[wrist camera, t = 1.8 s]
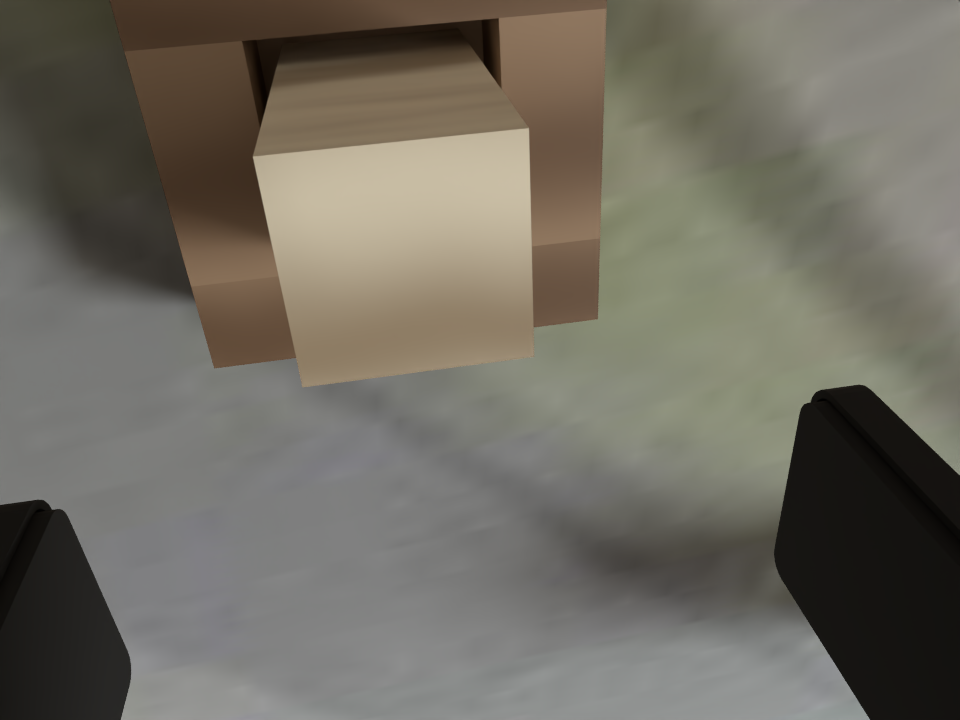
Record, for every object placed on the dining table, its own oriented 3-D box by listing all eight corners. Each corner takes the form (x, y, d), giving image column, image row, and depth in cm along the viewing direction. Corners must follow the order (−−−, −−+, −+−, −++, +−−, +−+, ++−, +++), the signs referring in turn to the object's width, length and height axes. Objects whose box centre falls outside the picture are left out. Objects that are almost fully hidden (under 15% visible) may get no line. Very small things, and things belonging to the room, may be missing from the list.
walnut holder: (125, -91, 21) (86, -81, 18) (568, -123, 22) (609, -119, 19) (228, 306, 28) (214, 368, 24) (566, 264, 29) (597, 318, 25)
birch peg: (282, 44, 22) (253, 156, 14) (458, 27, 23) (528, 128, 15) (312, 210, 25) (302, 387, 17) (469, 193, 26) (534, 356, 17)
